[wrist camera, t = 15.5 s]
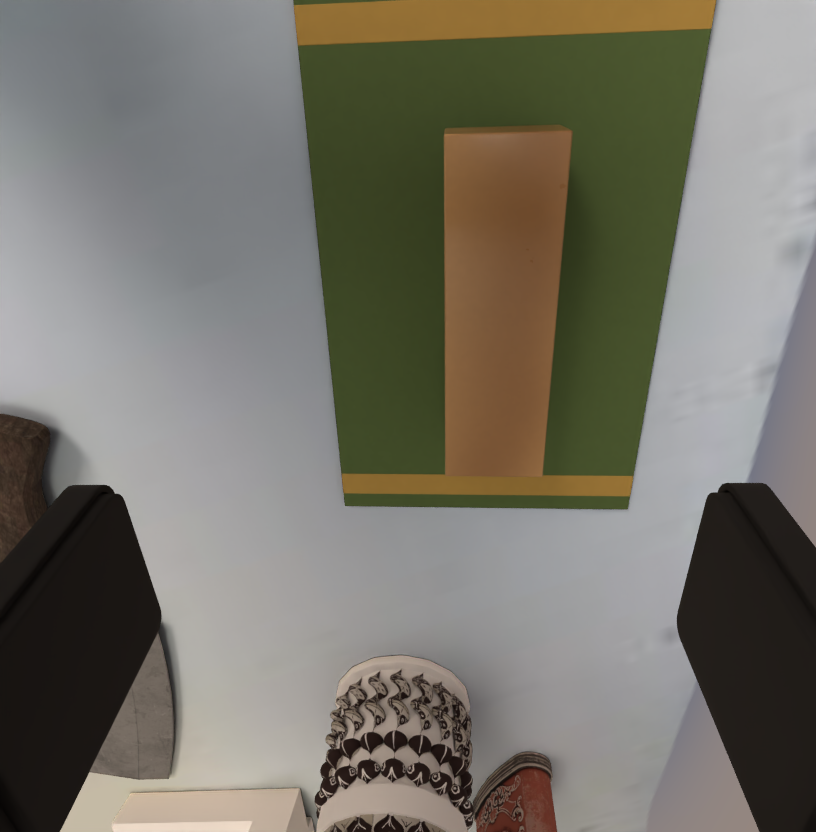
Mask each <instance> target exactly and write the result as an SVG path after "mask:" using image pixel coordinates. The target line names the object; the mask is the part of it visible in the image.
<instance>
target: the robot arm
mask: <svg viewBox="0 0 816 832" xmlns="http://www.w3.org/2000/svg"><path fill="white" fill-rule="evenodd" d="M160 624H161V609H160V606H159V603H158V600H157V597H156V594H155V591H154V588H153V585H152V582H151V579H150V576H149V573H148V570H147V567H146V564H145V561H144V558H143V555H142V552H141V549H140V546H139V543H138V540H137V537H136V534H135V531H134V528H133V525H132V522H131V519H130V516H129V513H128V510H127V507H126V504H125V501H124V499H123V497H122V496H121V495H120V494H115V493H114V491H113V489H112V488H111V487H110V486H107V485H72V486H69V487H67V488H66V489H65V490H64V491H63V492H62V493H61V494H60V495H59V497H58V498H57V499H56V500H55V501H54V502H53V503H52V505H51V506H50V507H49V508H48V509H47V510H46V512H45V513H44V514H43V515H42V516H41V517H40V518H39V520H38V521H37V522H36V523H35V524H34V525H33V526H32V528H31V529H30V530H29V531H28V532H27V533H26V534H25V536H24V537H23V538H22V539H21V540H20V541H19V542H18V544H17V545H16V546H15V547H14V548H13V549H12V550H11V552H10V553H9V554H8V555H7V556H6V557H5V559H4V560H3V561H2V562H1V563H0V832H60V830H61V828H62V826H63V824H64V822H65V820H66V818H67V816H68V814H69V812H70V810H71V808H72V806H73V804H74V802H75V800H76V798H77V796H78V794H79V792H80V790H81V788H82V786H83V784H84V782H85V780H86V778H87V776H88V774H89V772H90V769H91V767H92V765H93V763H94V761H95V759H96V757H97V755H98V753H99V751H100V749H101V747H102V745H103V743H104V741H105V739H106V737H107V735H108V733H109V731H110V729H111V727H112V725H113V723H114V721H115V719H116V717H117V715H118V713H119V711H120V709H121V707H122V705H123V703H124V701H125V698H126V696H127V694H128V692H129V690H130V688H131V686H132V684H133V682H134V680H135V678H136V676H137V674H138V672H139V670H140V668H141V666H142V664H143V662H144V660H145V658H146V656H147V654H148V652H149V650H150V648H151V646H152V644H153V642H154V640H155V638H156V636H157V634H158V631H159V628H160ZM677 628H678V633H679V637H680V640H681V642H682V644H683V647H684V649H685V652H686V654H687V657H688V659H689V661H690V664H691V666H692V669H693V671H694V674H695V676H696V679H697V681H698V683H699V686H700V688H701V691H702V693H703V695H704V698H705V700H706V703H707V705H708V708H709V710H710V712H711V715H712V717H713V720H714V722H715V725H716V727H717V729H718V732H719V734H720V737H721V739H722V742H723V744H724V747H725V749H726V751H727V754H728V756H729V759H730V761H731V764H732V766H733V768H734V770H735V773H736V776H737V778H738V781H739V783H740V785H741V788H742V790H743V793H744V795H745V798H746V800H747V802H748V804H749V807H750V810H751V812H752V815H753V817H754V819H755V822H756V824H757V827H758V829H759V831H760V832H816V547H815V546H814V545H813V544H812V542H811V541H810V540H809V538H808V537H807V536H806V535H805V533H804V532H803V530H802V529H801V528H800V526H799V525H798V524H797V523H796V521H795V520H794V519H793V517H792V516H791V515H790V513H789V512H788V511H787V509H786V508H785V507H784V506H783V504H782V503H781V502H780V500H779V499H778V498H777V496H776V495H775V494H774V493H773V491H772V490H771V489H770V488H769V487H768V486H767V485H766V484H763V483H725V484H722V486H721V487H720V488H719V490H718V493H710V494H709V495H708V497H707V499H706V503H705V507H704V511H703V515H702V519H701V523H700V526H699V530H698V534H697V538H696V542H695V546H694V550H693V554H692V558H691V562H690V566H689V570H688V574H687V578H686V582H685V586H684V590H683V594H682V598H681V601H680V605H679V609H678V614H677Z"/></svg>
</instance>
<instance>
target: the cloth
mask: <svg viewBox="0 0 816 832" xmlns="http://www.w3.org/2000/svg"><path fill="white" fill-rule="evenodd" d="M293 1H294V12H295V22H296V32H297V42H298V50H299V60H300V70H301V80H302V90H303V99H304V109H305V119H306V129H307V139H308V149H309V158H310V168H311V178H312V188H313V198H314V208H315V217H316V227H317V237H318V247H319V257H320V266H321V276H322V286H323V296H324V306H325V316H326V325H327V335H328V345H329V355H330V365H331V375H332V384H333V394H334V404H335V414H336V424H337V433H338V443H339V453H340V463H341V473H342V483H343V493H344V502H345V506H388V507H472V508H556V509H628V504H629V499H630V494H631V488H632V482H633V476H634V470H635V464H636V458H637V453H638V447H639V441H640V435H641V430H642V424H643V418H644V412H645V407H646V401H647V395H648V389H649V384H650V378H651V372H652V366H653V361H654V355H655V349H656V343H657V338H658V332H659V326H660V320H661V315H662V309H663V303H664V297H665V292H666V286H667V280H668V274H669V269H670V263H671V257H672V251H673V246H674V240H675V234H676V228H677V223H678V217H679V211H680V205H681V200H682V194H683V188H684V182H685V177H686V171H687V165H688V159H689V154H690V148H691V142H692V136H693V131H694V125H695V119H696V113H697V108H698V102H699V96H700V90H701V85H702V79H703V73H704V67H705V62H706V56H707V50H708V44H709V39H710V33H711V28H712V22H713V17H714V11H715V5H716V0H293ZM530 125H562V126H564V127H566V128H568V129H570V130H572V132H573V136H572V147H571V159H570V170H569V181H568V193H567V204H566V215H565V227H564V238H563V250H562V261H561V272H560V284H559V295H558V307H557V318H556V329H555V341H554V352H553V363H552V375H551V386H550V398H549V409H548V420H547V432H546V443H545V454H544V466H543V476H542V477H487V476H446V475H445V306H444V131H445V129H446V128H466V127H498V126H530Z"/></svg>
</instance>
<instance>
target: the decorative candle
mask: <svg viewBox="0 0 816 832" xmlns="http://www.w3.org/2000/svg"><path fill="white" fill-rule="evenodd" d="M335 704H336V707H337V710H334V711H332V712H331V714H330V716H331V718H332V719H333V720H334V721H333V722H332V724H331V727H332V729H331V730H332V733H330V734H328V735H327V736H326V743H327V744H328V745H329V746H330V747H331V749H329V750H328V751H327V756H326V762H325V763H324V764H323V765H322V767H321V770H320V773H321V776H322V778H323V781H322V783H321V787H320V791H319V792H318V793H317V794H316V796H315V805H316V807H317V812H316V814H317V818H318V824H317V830H316V832H468V829H470V827H471V826H472V823H473V817H472V816H473V812H474V809H473V805H472V803H471V802H470V801H469V800H467V799H468V798H469V797H470V796H471V793H472V788H471V785H472V782H473V780H472V776H471V775H470V773H469V772H467V770H468V769H469V767H470V765H471V761H472V744H471V741H470V736H471V719H470V716H469V715H468V713H469V711H470V703H469V699H468V695H467V691H466V687H465V686H464V685H463V684H462V683H461V682H460V681H459V679H458V678H457V677H456V676H455V675H454V674H453V673H452V672H451V671H449V670H447V669H445V668H443V667H441V666H439V665H437V664H435V663H433V662H431V661H429V660H425V659H420V658H414V657H409V656H403V655H398V656H387V657H376V658H373V659H370V660H368V661H365V662H363V663H361V664H358V665H356V666H354V667H352V668H351V669H350V670H349V671H348V672H347V673H346V675H345V676H344V677H343V678H342V679H341V680H340V681H339V685H338V689H337V694H336V699H335ZM337 739H338V741H337ZM336 742H337V746H336ZM332 768H333V771H332ZM331 773H332V775H331ZM327 798H328V800H327Z"/></svg>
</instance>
